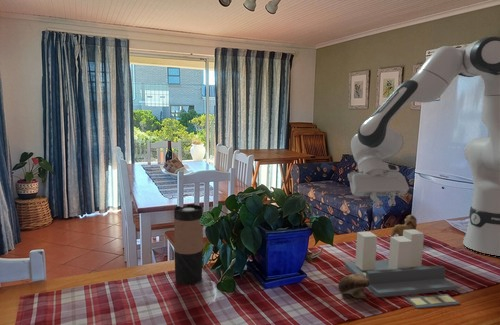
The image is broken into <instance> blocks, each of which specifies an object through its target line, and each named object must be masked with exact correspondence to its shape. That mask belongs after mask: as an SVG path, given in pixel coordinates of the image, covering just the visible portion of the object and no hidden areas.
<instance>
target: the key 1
mask: <svg viewBox="0 0 500 325" xmlns="http://www.w3.org/2000/svg"><path fill="white" fill-rule="evenodd" d="M377 244H378V235H376V234H375V233H373V232H372V231H357V232H356V245H355V246H356V247H355V261H354V262H355V265H356V266H357V267H358V268H360V269H361V270H362V271H364V270H375V261H377V260H376V258H377V247H378V246H377Z"/></svg>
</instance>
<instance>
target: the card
mask: <svg viewBox="0 0 500 325" xmlns="http://www.w3.org/2000/svg"><path fill="white" fill-rule="evenodd" d="M404 299H405V301H407V302H409V303H410V304H411V305H412V306H413V307H414V308H415V309H417V310H418V309H425V308H426V309H427V308H436V307H444V306H445V307H446V306H457V304H459V305H461V302H459V301H458V300H456V299H455V298H454V297H452V296H450V295H449V294H448V293H444V294H431V295H421V296H412V297H405V298H404Z"/></svg>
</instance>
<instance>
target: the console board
mask: <svg viewBox="0 0 500 325" xmlns="http://www.w3.org/2000/svg"><path fill="white" fill-rule="evenodd" d="M388 263H389V259H383V260H382V259H381V260H380V259H379V260H376V261H375V270H364V271H362V270H361V269H360V268H358V267H357V266H356V265H355V261H351V262H344V268H346V270H348V271H349V272H350V273H351V274H361V275H363V276H365V277H367V278H368V279H369V281H370V285H369V286H368V287H366V288H367V289H368V290H369V291H370V292H371V294H374V296H376V297H377V298H384V297H396V296H398V297H399V296H405V295H407V296H409V295H418V294H430V293H440V292H439V291H443V292H447V291H446V290H454V291H457V290H458V289H457V288H458V285H456V284H455V283H453V282H452V281H450V280H448V279H447V278H445V276H446V267H445V266H443V265H432V266H430V265H429V266H426V265H424V264H422V263H421V266H419V267H410V268H400V269H388Z"/></svg>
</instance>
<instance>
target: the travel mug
mask: <svg viewBox="0 0 500 325" xmlns="http://www.w3.org/2000/svg"><path fill="white" fill-rule="evenodd" d="M203 213H204V212H203V206H201V205H199V204H187V205H186V206H180V205H176V206H175V207H174V209H173V214H174V215H173V221H174V225H173V229H174V230H173V232H174V233H173V236H174V238H173V240H174V241H173V242H174V243H173V247H174V248H173V252H174V275H175V282H176V284H179V285H183V286H192V285H196V284H198V283H200V282H201V281H202V280H203V278H202V277H203V261H202V259H203V258H204V257H203V254H204V229H203V228H204V225H203V226H201V224H199V223H200V222H199V220H200V218H201V216H202V214H203Z"/></svg>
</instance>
